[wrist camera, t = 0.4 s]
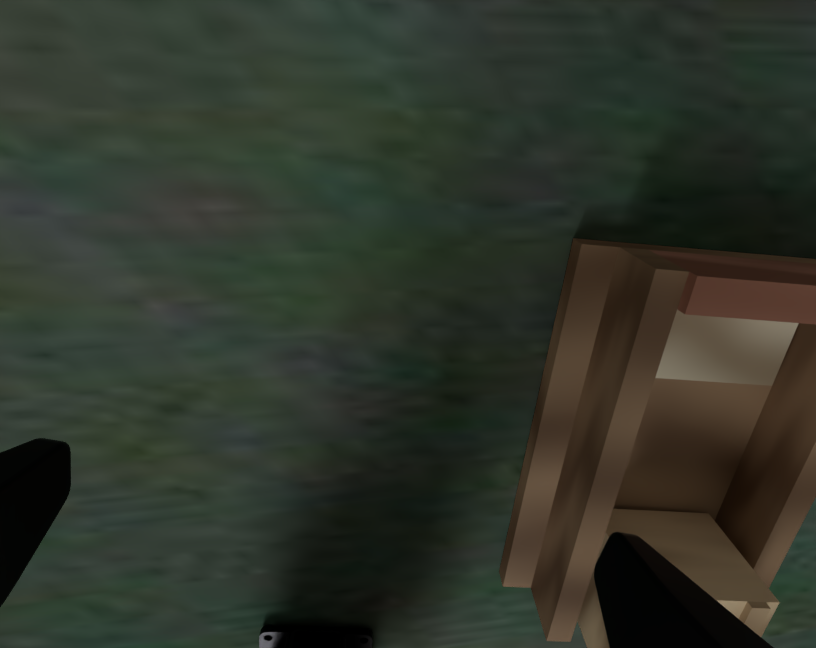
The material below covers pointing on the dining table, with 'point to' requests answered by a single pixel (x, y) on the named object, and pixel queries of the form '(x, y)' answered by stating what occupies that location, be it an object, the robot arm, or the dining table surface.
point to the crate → (687, 567)
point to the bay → (667, 411)
